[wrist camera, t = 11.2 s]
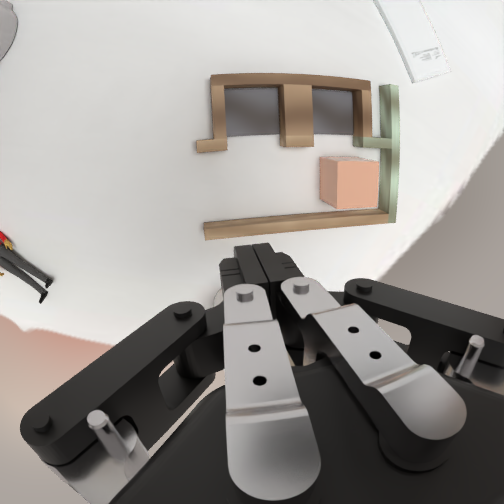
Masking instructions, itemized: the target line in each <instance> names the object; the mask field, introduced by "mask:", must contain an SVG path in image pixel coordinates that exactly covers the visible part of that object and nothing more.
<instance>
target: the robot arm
mask: <svg viewBox="0 0 504 504" xmlns="http://www.w3.org/2000/svg"><path fill="white" fill-rule="evenodd" d="M16 30H17V17H16V15H15V13H14V12H13V11H12V4H11V3H9V2H7V1H6V0H0V60H1V59H2V58H3V56H4V55H5V53H6V52H7V51H8V49H9V47H10V45H11V44H12V41H13V39H14V37H15V33H16ZM219 267H220V277H221V286H222V295H223V301H222V302H221V303H220V304H219V305H217V306H215V307H213V308H210V309H207V310H205V309H204V307H203V306H202V305H201V304H199V303H196V302H190V301H185V302H178V303H175V304H172V305H170V306H168V307H167V308H165V309H164V310H163V311H161V312H160V313H159V314H157V315H156V316H155V317H153V318H152V319H150V320H149V321H148V322H146V323H145V324H144V325H142V326H141V327H140V328H138V329H137V330H136V331H134V332H133V333H131V334H130V335H129V336H127V337H126V338H125V339H123V340H122V341H121V342H119V343H118V344H117V345H115V346H114V347H113V348H111V349H110V350H109V351H107V352H106V353H104V354H103V355H102V356H100V357H99V358H98V359H96V360H95V361H94V362H92V363H91V364H90V365H88V366H87V367H86V368H84V369H83V370H82V371H80V372H79V373H78V374H76V375H75V376H74V377H72V378H71V379H70V380H68V381H67V382H65V383H64V384H63V385H61V386H60V387H59V388H57V389H56V390H55V391H54V392H52V393H51V394H49V395H48V396H47V397H45V398H44V399H43V400H41V401H40V402H39V403H37V404H36V405H35V406H33V407H32V408H31V409H30V410H28V411H27V413H26V414H25V415H24V416H23V418H22V420H21V424H20V432H21V435H22V437H23V439H24V440H25V441H26V442H27V443H28V444H29V446H30V447H31V448H32V449H33V450H34V451H35V452H36V453H37V454H38V456H39V457H40V459H41V460H42V461H43V462H44V463H45V464H46V465H47V466H48V467H49V468H50V469H51V470H52V471H53V472H54V473H55V474H56V475H57V476H58V477H59V478H60V479H61V480H62V481H64V482H65V483H67V484H68V485H69V486H71V487H72V488H73V489H74V490H75V491H76V492H78V493H79V494H81V496H82V497H83V498H84V499H85V500H86V501H88V502H89V503H90V504H504V319H501V318H497V317H494V316H491V315H487V314H484V313H481V312H477V311H474V310H471V309H468V308H464V307H461V306H458V305H454V304H451V303H448V302H444V301H441V300H438V299H434V298H431V297H428V296H424V295H421V294H417V293H414V292H411V291H407V290H404V289H401V288H397V287H394V286H391V285H387V284H384V283H381V282H377V281H374V280H370V279H364V278H358V279H352V280H350V281H348V282H347V283H346V284H345V288H344V292H331V291H327V290H326V289H325V288H324V287H323V286H322V285H321V284H320V283H319V282H318V281H316V280H314V279H312V278H307V277H304V275H303V274H302V273H301V271H300V270H299V268H298V267H297V266H296V264H295V263H294V261H293V260H292V259H291V257H290V256H288V255H286V254H285V253H283V252H278V253H275V252H274V250H273V249H272V247H271V246H270V244H269V243H261V244H252V246H251V245H243V246H234V258H226V259H223V260H222V261H221V263H220V264H219ZM378 318H380V319H383V320H386V321H389V322H392V323H395V324H398V325H401V326H403V327H406V328H407V329H408V330H409V331H410V333H411V341H410V344H409V345H405V344H402V343H399V342H396V341H394V340H392V339H391V338H390V337H389V336H388V335H387V334H386V333H385V332H384V331H383V330H382V329H381V328H380V326H378V325H377V323H378ZM448 351H450V352H448ZM172 360H173V361H174V364H173V365H172V366H171V367H170V368H169V369H168V370H167V371H166V372H164V373H163V374H162V375H161V376H160V377H159V375H160V373H161V371H162V370H163V369H164V368H165V367H166V366H167V365H168V364H169V363H170V362H172ZM223 369H225V385H223V386H221V387H219V388H217V389H216V390H214V391H212V392H211V393H210V394H208V395H207V396H205V397H204V398H203V399H202V400H201V401H200V402H199V403H198V404H197V405H196V407H195V408H194V409H193V410H192V411H191V413H190V414H189V415H188V416H187V417H186V418H185V420H184V421H183V422H182V423H181V424H180V425H179V426H178V428H177V429H176V430H175V431H174V432H173V433H172V435H171V436H170V437H169V438H168V439H167V440H166V441H165V443H164V444H163V445H162V446H161V447H160V448H159V449H158V450H157V451H156V453H155V454H154V455H153V456H152V457H151V458H150V459H149V454H148V450H149V449H150V448H151V447H152V446H153V445H154V444H155V443H156V442H157V441H158V440H159V439H160V438H161V437H162V436H163V435H164V433H166V432H167V431H168V430H169V428H170V427H171V426H172V425H173V424H174V423H175V422H176V421H177V420H178V419H179V418H180V417H181V416H182V415H183V414H184V413H185V412H186V410H187V409H188V408H189V407H190V406H191V405H192V404H193V403H194V402H195V401H196V400H197V399H198V398H199V396H200V395H201V394H202V393H203V392H204V391H205V390H206V389H207V388H208V387H209V385H210V384H211V383H212V382H213V381H214V379H215V372H218V371H220V370H223Z"/></svg>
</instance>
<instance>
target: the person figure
mask: <svg viewBox="0 0 504 504" xmlns="http://www.w3.org/2000/svg"><path fill="white" fill-rule="evenodd" d="M0 239H1V240H2V241H3V242H4V245H5V246H6V247H5V246H3V245H2V244H1V243H0V265H1V266H2V267H3V268H5V269H6V270H7V271H9V272H10V273H12V274H14V275H16V276H17V277H19V278H20V279H22V280H23V281H25V282H26V283H28V284H29V285H31V286H32V287H33V288H35V289H36V290H37V291H38V292H39V293H40V294H41V298H40V300H39V303H40V304H41V303H42V302H43V300H44V299H45V297H46V296H47V294H48V291H46V290H45V289H44V288H43V287H41V286H40V285H39V284H38V283H36V282H35V281H34V280H33V279H32V278H30V277H29V276H28V275H27V274H25V273H24V272H22V271H20V270H19V269H17V268H16V267H15V266H14V265H13V264H12V263H14V264H15V265H17V266H19V267H20V268H22V269H24V270H25V271H27V272H28V273H30V274H32V275H33V276H35V277H37V278H38V279H40V280H42V281H43V282H45V283H46V285H45V287H46V288H48V287H49V286H50V285H51V284H52V282H53V281H52V280H51V279H49V278H48V277H46V276H44V275H43V274H41V273H40V272H38V271H37V270H36V269H34V268H33V267H31V266H30V265H29V264H27V263H25V262H23V261H22V260H21V259H20V258H18V257H17V256H16V255H15V254H14V253H13V252H11V251H10V250H9V249H7V246H9V248H10V247H11V248H10V249H11V250H12V249H13V248H12V247H13V246H12V244H11V242H9V241H8V239H7V238H6V237H5V236H4V235H3V233H2V232H1V231H0ZM11 262H12V263H11ZM2 275H4V273H0V276H2Z"/></svg>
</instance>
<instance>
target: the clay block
mask: <svg viewBox="0 0 504 504" xmlns="http://www.w3.org/2000/svg"><path fill="white" fill-rule="evenodd" d="M378 178H379V162H378V161H374V160H369V159H364V158H360V157H320V199H321V200H322V201H324V202H326V203H327V204H329V205H331V206H332V207H334V208H336V209H347V208H364V207H377V199H378Z"/></svg>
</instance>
